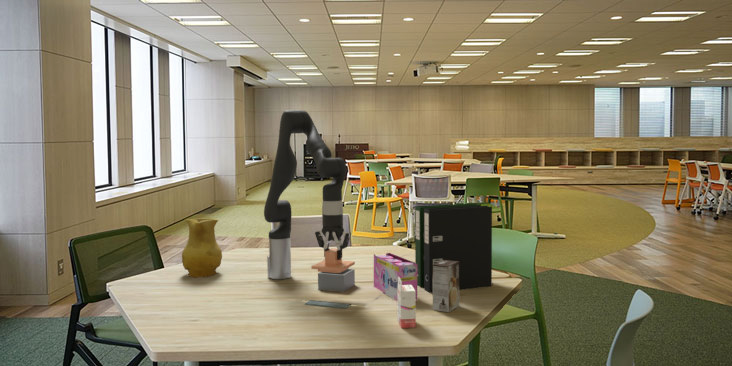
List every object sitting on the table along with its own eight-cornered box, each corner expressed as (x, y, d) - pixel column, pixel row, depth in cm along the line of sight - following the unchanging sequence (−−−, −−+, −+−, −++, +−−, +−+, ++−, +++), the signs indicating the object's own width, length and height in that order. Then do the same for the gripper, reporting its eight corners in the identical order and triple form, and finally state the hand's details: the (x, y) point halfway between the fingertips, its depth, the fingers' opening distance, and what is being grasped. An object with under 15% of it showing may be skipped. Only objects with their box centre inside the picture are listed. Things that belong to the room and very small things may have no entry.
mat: (304, 304, 209) (304, 303, 209) (323, 293, 223) (323, 292, 223) (345, 308, 203) (345, 307, 203) (362, 296, 218) (362, 295, 218)
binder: (475, 278, 244) (475, 203, 241) (493, 287, 230) (493, 207, 227) (415, 284, 236) (415, 206, 233) (430, 293, 221) (429, 210, 219)
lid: (311, 272, 209) (311, 252, 208) (325, 265, 220) (325, 246, 220) (342, 274, 205) (341, 254, 204) (354, 267, 216) (354, 248, 215)
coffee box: (443, 303, 208) (443, 259, 207) (459, 306, 204) (459, 261, 203) (432, 310, 200) (431, 264, 199) (449, 312, 197) (449, 266, 195)
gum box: (371, 287, 232) (371, 253, 231) (389, 285, 235) (388, 252, 234) (399, 302, 210) (399, 265, 209) (418, 299, 213) (418, 263, 212)
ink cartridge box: (416, 327, 182) (416, 281, 180) (400, 328, 181) (400, 282, 180) (412, 319, 190) (411, 275, 189) (397, 320, 190) (396, 275, 189)
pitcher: (172, 276, 253) (174, 219, 252) (200, 269, 270) (201, 215, 269) (205, 280, 246) (206, 222, 245) (230, 273, 264) (232, 218, 263)
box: (318, 290, 227) (317, 273, 227) (329, 284, 237) (329, 267, 237) (344, 293, 223) (343, 275, 223) (354, 286, 233) (354, 269, 233)
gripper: (310, 213, 210) (311, 260, 211) (346, 214, 205) (347, 262, 206) (319, 211, 217) (320, 256, 218) (354, 212, 212) (355, 258, 213)
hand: (333, 259), depth 212 cm, fingers closed on lid, 4 cm apart
